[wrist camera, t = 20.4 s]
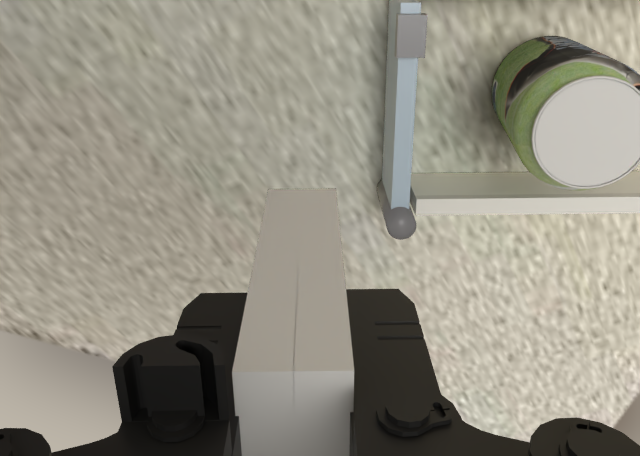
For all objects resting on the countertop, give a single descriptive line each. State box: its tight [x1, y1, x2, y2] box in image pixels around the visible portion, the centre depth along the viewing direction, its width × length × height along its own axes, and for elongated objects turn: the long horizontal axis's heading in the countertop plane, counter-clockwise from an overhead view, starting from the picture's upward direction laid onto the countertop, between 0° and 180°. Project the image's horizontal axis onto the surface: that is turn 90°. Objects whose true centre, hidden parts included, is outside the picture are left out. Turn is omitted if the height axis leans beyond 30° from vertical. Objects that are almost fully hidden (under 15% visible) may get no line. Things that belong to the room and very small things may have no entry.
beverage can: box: [492, 36, 640, 191], centre depth 31 cm, size 6×7×12 cm
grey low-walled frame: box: [410, 171, 640, 216], centre depth 35 cm, size 17×13×5 cm
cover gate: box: [377, 0, 428, 239], centre depth 34 cm, size 12×2×6 cm, turn 0°
